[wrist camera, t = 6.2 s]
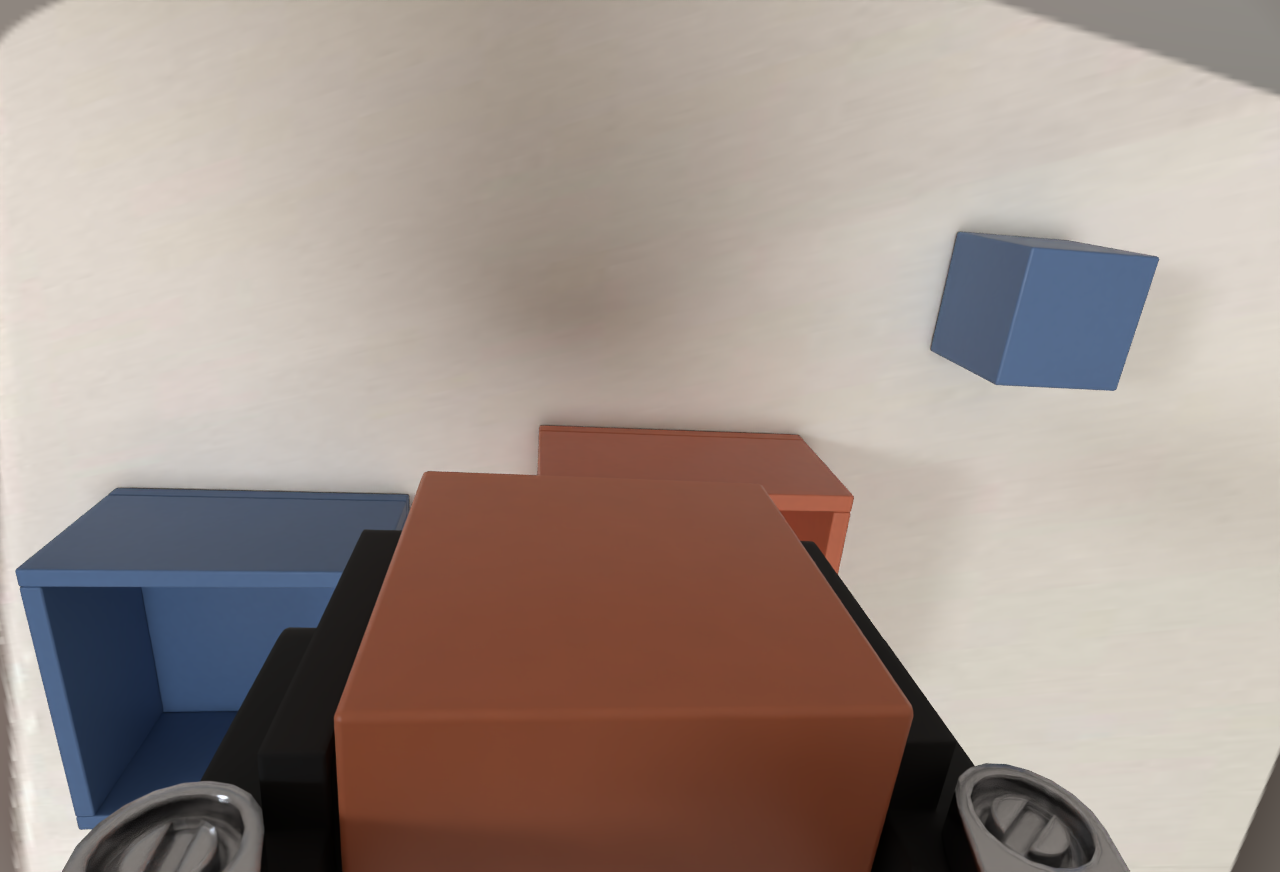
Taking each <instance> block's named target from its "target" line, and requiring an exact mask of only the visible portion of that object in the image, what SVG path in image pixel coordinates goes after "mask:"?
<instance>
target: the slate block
mask: <svg viewBox="0 0 1280 872" xmlns="http://www.w3.org/2000/svg"><path fill="white" fill-rule="evenodd" d="M1158 261H1159V258H1158V257H1157V256H1151V255H1146V254H1140V253H1135V252H1129V251H1124V250H1118V249H1113V248H1107V247H1102V246H1096V245H1090V244H1085V243H1079V242H1074V241H1068V240H1057V239H1045V238H1033V237H1021V236H1008V235H996V234H984V233H972V232H958V234H957V238H956V242H955V247H954V251H953V255H952V259H951V264H950V268H949V272H948V277H947V281H946V285H945V290H944V294H943V298H942V303H941V307H940V311H939V316H938V320H937V324H936V328H935V333H934V337H933V341H932V346H931V351H933V352H935V353H937V354H938V355H940V356H942V357H944V358H946V359H948V360H950V361H952V362H954V363H956V364H957V365H959V366H961V367H963V368H965V369H967V370H969V371H971V372H973V373H975V374H976V375H978V376H980V377H982V378H984V379H986V380H988V381H990V382H992V383H994V384H995V385H1007V386H1028V387H1048V388H1069V389H1089V390H1109V391H1114V390H1116V389H1117V386H1118V382H1119V379H1120V376H1121V373H1122V370H1123V367H1124V364H1125V361H1126V358H1127V355H1128V352H1129V349H1130V346H1131V343H1132V340H1133V337H1134V334H1135V331H1136V328H1137V325H1138V322H1139V319H1140V316H1141V313H1142V310H1143V307H1144V304H1145V301H1146V298H1147V295H1148V292H1149V289H1150V285H1151V282H1152V279H1153V276H1154V273H1155V270H1156V267H1157V264H1158Z"/></svg>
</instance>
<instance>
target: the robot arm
mask: <svg viewBox="0 0 1280 872" xmlns="http://www.w3.org/2000/svg"><path fill="white" fill-rule="evenodd" d="M401 533H402V530H368V529H365V530H363V531H362V533H361V535H360V537H359V539H358V541H357V543H356V546H355V548H354V550H353V552H352V554H351V556H350V558H349V560H348V562H347V565H346V567H345V569H344V571H343V573H342V575H341V577H340V579H339V582H338V584H337V586H336V588H335V590H334V592H333V594H332V596H331V598H330V601H329V603H328V605H327V607H326V609H325V611H324V613H323V615H322V617H321V620H320V622H319V624H318V626H317V628H302V627H289V628H286V629H284V630H283V631H282V633H281V634H280V636H279V637H278V639H277V641H276V642H275V644H274V646H273V648H272V650H271V652H270V653H269V655H268V657H267V659H266V661H265V663H264V664H263V666H262V668H261V670H260V672H259V674H258V676H257V677H256V679H255V681H254V683H253V685H252V687H251V688H250V690H249V692H248V694H247V696H246V698H245V699H244V701H243V703H242V705H241V707H240V709H239V710H238V712H237V714H236V716H235V718H234V720H233V721H232V723H231V725H230V727H229V729H228V731H227V733H226V734H225V736H224V738H223V740H222V742H221V744H220V745H219V747H218V749H217V751H216V753H215V755H214V756H213V758H212V760H211V762H210V764H209V766H208V767H207V769H206V771H205V773H204V775H203V777H202V778H201V780H200V782H189V783H181V784H178V785H174V786H170V787H167V788H163V789H160V790H156V791H153V792H151V793H149V794H147V795H145V796H143V797H140V798H138V799H136V800H134V801H132V802H130V803H128V804H126V805H124V806H122V807H121V808H120V809H118V810H117V811H115V812H114V813H112V814H111V815H110V816H108V817H107V818H105V819H104V820H102V821H101V822H100V823H98V824H97V825H96V826H95V827H94V828H93V829H92V830H91V831H90V832H89V834H88V835H87V836H86V837H85V838H84V839H83V840H82V841H81V842H80V843H79V844H78V845H77V846H76V848H75V849H74V851H73V853H72V855H71V856H70V858H69V860H68V862H67V864H66V865H65V867H64V869H63V871H62V872H342V859H341V841H340V823H339V805H338V786H337V768H336V750H335V732H334V715H335V713H336V710H337V707H338V704H339V702H340V699H341V696H342V693H343V691H344V688H345V685H346V683H347V680H348V677H349V674H350V672H351V669H352V666H353V664H354V661H355V658H356V655H357V653H358V650H359V647H360V644H361V642H362V639H363V636H364V634H365V631H366V628H367V625H368V623H369V620H370V617H371V614H372V612H373V609H374V606H375V604H376V601H377V598H378V595H379V593H380V590H381V587H382V585H383V582H384V579H385V576H386V574H387V571H388V568H389V565H390V563H391V560H392V557H393V555H394V552H395V549H396V546H397V544H398V541H399V538H400V536H401ZM800 542H801V543H802V545H803V546H804V548H805V549H806V551H807V552H808V554H809V555H810V556H811V558H812V559H813V561H814V562H815V564H816V565H817V567H818V568H819V570H820V571H821V573H822V574H823V576H824V577H825V579H826V580H827V582H828V583H829V584H830V586H831V587H832V589H833V590H834V592H835V593H836V595H837V596H838V598H839V599H840V601H841V602H842V604H843V605H844V607H845V608H846V609H847V611H848V612H849V614H850V615H851V617H852V618H853V620H854V621H855V623H856V624H857V626H858V627H859V629H860V630H861V632H862V633H863V635H864V636H865V637H866V639H867V640H868V642H869V643H870V645H871V646H872V648H873V649H874V651H875V652H876V654H877V655H878V657H879V658H880V660H881V661H882V662H883V664H884V665H885V667H886V668H887V670H888V671H889V673H890V674H891V676H892V677H893V679H894V680H895V682H896V683H897V685H898V686H899V688H900V689H901V690H902V692H903V693H904V695H905V696H906V698H907V699H908V701H909V702H910V704H911V705H912V709H913V720H912V723H911V727H910V731H909V734H908V738H907V742H906V745H905V749H904V752H903V756H902V760H901V763H900V767H899V771H898V774H897V778H896V782H895V785H894V789H893V792H892V796H891V800H890V803H889V807H888V811H887V814H886V818H885V822H884V825H883V829H882V832H881V836H880V840H879V843H878V847H877V851H876V854H875V858H874V862H873V865H872V869H871V872H1130V870H1129V869H1128V867H1127V865H1126V863H1125V862H1124V860H1123V858H1122V857H1121V855H1120V853H1119V851H1118V850H1117V848H1116V846H1115V844H1114V843H1113V841H1112V839H1111V838H1110V836H1109V834H1108V832H1107V831H1106V829H1105V828H1104V827H1103V825H1102V824H1101V823H1100V821H1099V820H1098V819H1097V817H1096V816H1095V815H1094V813H1093V812H1092V811H1091V810H1090V809H1089V808H1088V807H1087V806H1086V805H1084V804H1083V803H1082V802H1081V801H1080V800H1079V799H1078V798H1077V797H1076V796H1074V795H1073V794H1072V793H1070V792H1069V791H1067V790H1066V789H1064V788H1062V787H1061V786H1059V785H1058V784H1056V783H1055V782H1053V781H1052V780H1050V779H1047V778H1045V777H1043V776H1041V775H1038V774H1036V773H1034V772H1032V771H1029V770H1026V769H1022V768H1018V767H1015V766H1011V765H1007V764H988V763H986V764H982V765H978V766H974V764H973V763H972V761H971V760H970V759H969V757H968V756H967V754H966V753H965V752H964V750H963V749H962V747H961V746H960V745H959V743H958V742H957V740H956V739H955V738H954V736H953V735H952V733H951V732H950V731H949V729H948V728H947V726H946V725H945V724H944V722H943V721H942V719H941V718H940V717H939V715H938V714H937V712H936V711H935V710H934V708H933V707H932V705H931V704H930V703H929V701H928V700H927V698H926V697H925V696H924V694H923V693H922V691H921V690H920V689H919V687H918V686H917V684H916V683H915V682H914V680H913V679H912V677H911V676H910V675H909V673H908V672H907V670H906V669H905V668H904V666H903V665H902V663H901V662H900V661H899V659H898V658H897V656H896V655H895V654H894V652H893V651H892V649H891V648H890V647H889V645H888V644H887V642H886V641H885V640H884V639H883V637H882V636H881V635H880V633H879V632H878V630H877V629H876V628H875V626H874V625H873V623H872V622H871V621H870V619H869V618H868V616H867V615H866V614H865V612H864V611H863V609H862V608H861V607H860V605H859V604H858V602H857V601H856V600H855V598H854V597H853V595H852V594H851V593H850V591H849V590H848V588H847V587H846V586H845V584H844V583H843V581H842V580H841V579H840V577H839V576H838V574H837V573H836V572H835V570H834V569H833V567H832V566H831V565H830V563H829V562H828V560H827V559H826V558H825V556H824V555H823V553H822V552H821V550H820V549H819V548H818V546H817V545H816V544H815V543H814V542H813V541H800Z"/></svg>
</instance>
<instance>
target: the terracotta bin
mask: <svg viewBox="0 0 1280 872" xmlns="http://www.w3.org/2000/svg"><path fill="white" fill-rule="evenodd" d="M537 475H542V476H568V477H594V478H620V479H647V480H673V481H699V482H725V483H751V484H760V485H762V486H763V487H764V489H765V490H766V492H767V493H768V495H769V496H770V498H771V499H772V501H773V502H774V503H775V505H776V506H777V508H778V509H779V511H780V512H781V514H782V515H783V517H784V518H785V520H786V521H787V523H788V524H789V526H790V527H791V528H792V530H793V531H794V533H795V534H796V536H797V537H798V539H799V540H800V541H813V542H814V543H815V544H816V545H817V546H818V548H819V549H820V550H821V552H822V553H823V555H824V556H825V558H826V559H827V560H828V562H829V563H830V565H831V566H832V567H833V569H834V570H835V572H836V573H837V574H838V571H839V566H840V561H841V556H842V551H843V547H844V542H845V537H846V532H847V528H848V523H849V518H850V512H851V509H852V504H853V499H854V496H853V495H852V494H851V493H850V492H849V490H848V489H847V488H846V487H845V486H844V485H843V484H842V483H841V482H840V480H839V479H838V478H837V477H836V476H835V475H834V474H833V473H832V471H831V470H830V469H829V468H828V467H827V466H826V465H825V464H824V462H823V461H822V460H821V459H820V458H819V457H818V456H817V455H816V453H815V452H814V451H813V450H812V449H811V448H810V447H809V446H808V445H807V443H806V442H805V441H803V439H802V438H801V437H800V436H799V435H788V434H761V433H734V432H706V431H679V430H652V429H625V428H597V427H570V426H543V425H541V426H540V427H539V446H538V471H537Z"/></svg>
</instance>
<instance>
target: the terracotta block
mask: <svg viewBox="0 0 1280 872" xmlns="http://www.w3.org/2000/svg"><path fill="white" fill-rule="evenodd" d="M912 720H913V709H912V705H911V704H910V702H909V701H908V699H907V698H906V696H905V695H904V693H903V692H902V690H901V689H900V688H899V686H898V685H897V683H896V682H895V680H894V679H893V677H892V676H891V674H890V673H889V671H888V670H887V668H886V667H885V665H884V664H883V662H882V661H881V660H880V658H879V657H878V655H877V654H876V652H875V651H874V649H873V648H872V646H871V645H870V643H869V642H868V640H867V639H866V637H865V636H864V635H863V633H862V632H861V630H860V629H859V627H858V626H857V624H856V623H855V621H854V620H853V618H852V617H851V615H850V614H849V612H848V611H847V609H846V608H845V607H844V605H843V604H842V602H841V601H840V599H839V598H838V596H837V595H836V593H835V592H834V590H833V589H832V587H831V586H830V584H829V583H828V582H827V580H826V579H825V577H824V576H823V574H822V573H821V571H820V570H819V568H818V567H817V565H816V564H815V562H814V561H813V559H812V558H811V556H810V555H809V554H808V552H807V551H806V549H805V548H804V546H803V545H802V543H801V542H800V540H799V539H798V537H797V536H796V534H795V533H794V531H793V530H792V528H791V527H790V526H789V524H788V523H787V521H786V520H785V518H784V517H783V515H782V514H781V512H780V511H779V509H778V508H777V506H776V505H775V503H774V502H773V501H772V499H771V498H770V496H769V495H768V493H767V492H766V490H765V489H764V487H763V486H762V485H760V484H751V483H725V482H699V481H673V480H647V479H620V478H594V477H568V476H542V475H516V474H489V473H463V472H437V471H428V472H425V473H424V474H423V476H422V478H421V481H420V484H419V486H418V489H417V492H416V495H415V497H414V500H413V503H412V506H411V508H410V511H409V514H408V516H407V519H406V522H405V525H404V527H403V530H402V533H401V536H400V538H399V541H398V544H397V546H396V549H395V552H394V555H393V557H392V560H391V563H390V565H389V568H388V571H387V574H386V576H385V579H384V582H383V585H382V587H381V590H380V593H379V595H378V598H377V601H376V604H375V606H374V609H373V612H372V614H371V617H370V620H369V623H368V625H367V628H366V631H365V634H364V636H363V639H362V642H361V644H360V647H359V650H358V653H357V655H356V658H355V661H354V664H353V666H352V669H351V672H350V674H349V677H348V680H347V683H346V685H345V688H344V691H343V693H342V696H341V699H340V702H339V704H338V707H337V710H336V713H335V715H334V732H335V750H336V768H337V786H338V805H339V823H340V841H341V859H342V872H871V869H872V865H873V862H874V858H875V854H876V851H877V847H878V843H879V840H880V836H881V832H882V829H883V825H884V822H885V818H886V814H887V811H888V807H889V803H890V800H891V796H892V792H893V789H894V785H895V782H896V778H897V774H898V771H899V767H900V763H901V760H902V756H903V752H904V749H905V745H906V742H907V738H908V734H909V731H910V727H911V723H912Z"/></svg>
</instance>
